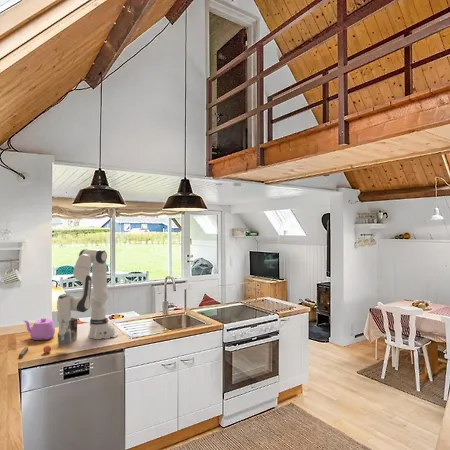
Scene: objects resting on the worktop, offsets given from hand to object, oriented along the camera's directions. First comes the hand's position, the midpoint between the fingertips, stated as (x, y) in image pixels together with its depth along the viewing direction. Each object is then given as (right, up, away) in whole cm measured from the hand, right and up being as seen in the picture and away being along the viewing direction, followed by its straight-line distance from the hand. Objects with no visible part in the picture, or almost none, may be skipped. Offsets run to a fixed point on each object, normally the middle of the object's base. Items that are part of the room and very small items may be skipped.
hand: (63, 337), depth 242 cm
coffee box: (-7, -10, +24) cm, 27 cm away
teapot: (-30, -9, +27) cm, 42 cm away
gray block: (+1, -4, 0) cm, 4 cm away
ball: (-10, -7, -3) cm, 12 cm away
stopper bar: (-24, -9, -7) cm, 26 cm away
